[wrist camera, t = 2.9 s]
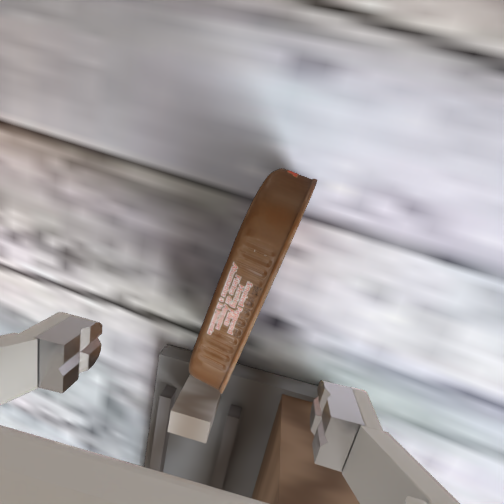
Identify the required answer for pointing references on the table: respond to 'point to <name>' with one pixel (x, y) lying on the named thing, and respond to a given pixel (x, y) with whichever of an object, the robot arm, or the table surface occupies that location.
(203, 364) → the tin
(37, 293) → the table surface
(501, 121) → the table surface
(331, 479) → the cabinet
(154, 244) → the table surface
